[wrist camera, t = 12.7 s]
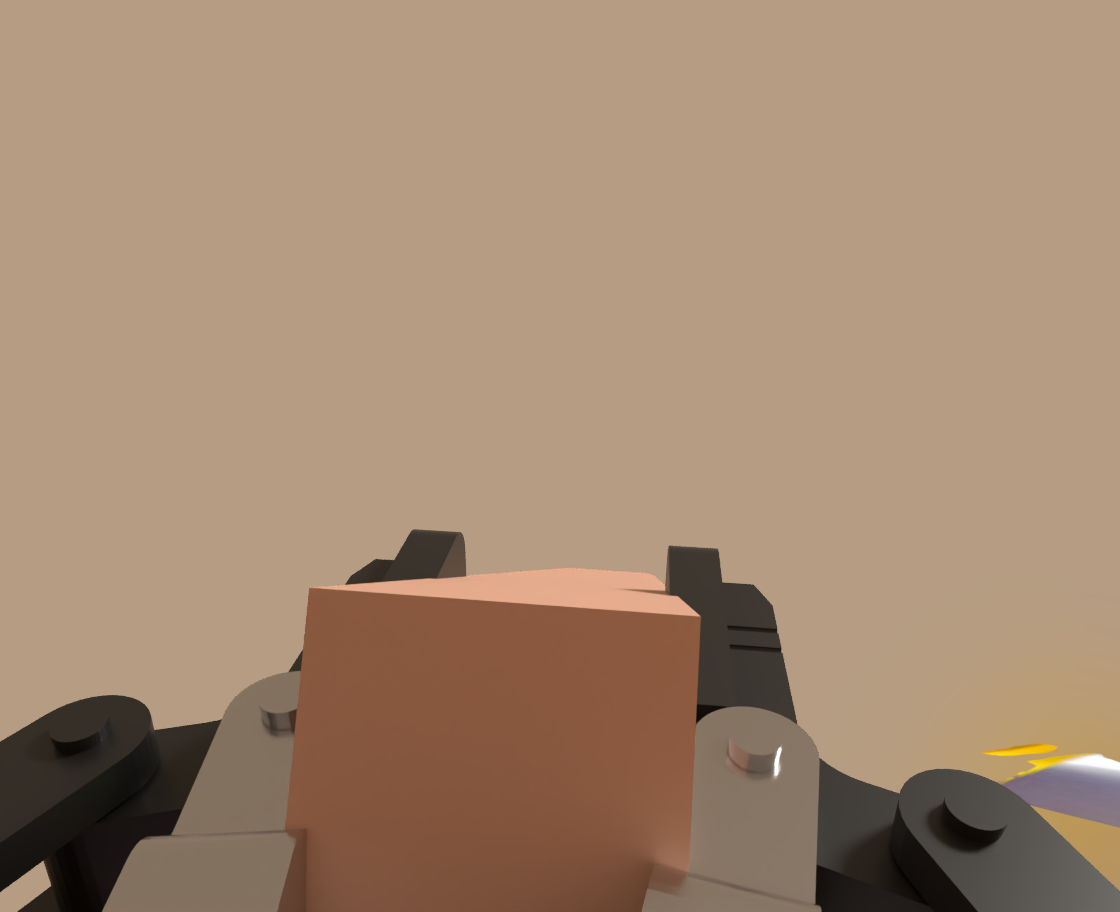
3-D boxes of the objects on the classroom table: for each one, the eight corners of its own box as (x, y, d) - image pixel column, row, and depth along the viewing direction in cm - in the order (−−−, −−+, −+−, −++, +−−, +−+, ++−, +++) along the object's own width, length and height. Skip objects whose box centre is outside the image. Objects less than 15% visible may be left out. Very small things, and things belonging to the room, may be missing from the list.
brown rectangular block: (679, 1053, 6) (701, 617, 7) (268, 999, 7) (310, 588, 7) (646, 658, 32) (651, 573, 32) (562, 652, 32) (568, 567, 33)
